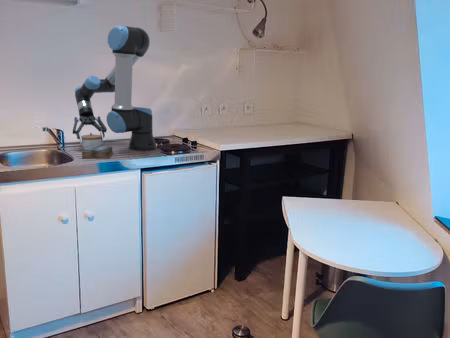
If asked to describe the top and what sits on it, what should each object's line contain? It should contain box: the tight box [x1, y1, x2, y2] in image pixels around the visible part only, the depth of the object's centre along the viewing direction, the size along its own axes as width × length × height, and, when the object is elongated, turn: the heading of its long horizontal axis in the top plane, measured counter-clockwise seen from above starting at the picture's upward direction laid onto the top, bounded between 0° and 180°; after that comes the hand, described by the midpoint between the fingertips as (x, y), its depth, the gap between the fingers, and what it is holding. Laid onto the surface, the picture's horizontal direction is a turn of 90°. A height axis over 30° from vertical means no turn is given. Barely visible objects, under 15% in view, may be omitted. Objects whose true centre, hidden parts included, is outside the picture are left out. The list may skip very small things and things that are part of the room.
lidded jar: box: [81, 132, 102, 148], centre depth 226 cm, size 11×11×9 cm
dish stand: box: [81, 144, 113, 159], centre depth 213 cm, size 13×13×4 cm
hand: (92, 142), depth 223 cm, fingers closed on lidded jar, 11 cm apart
